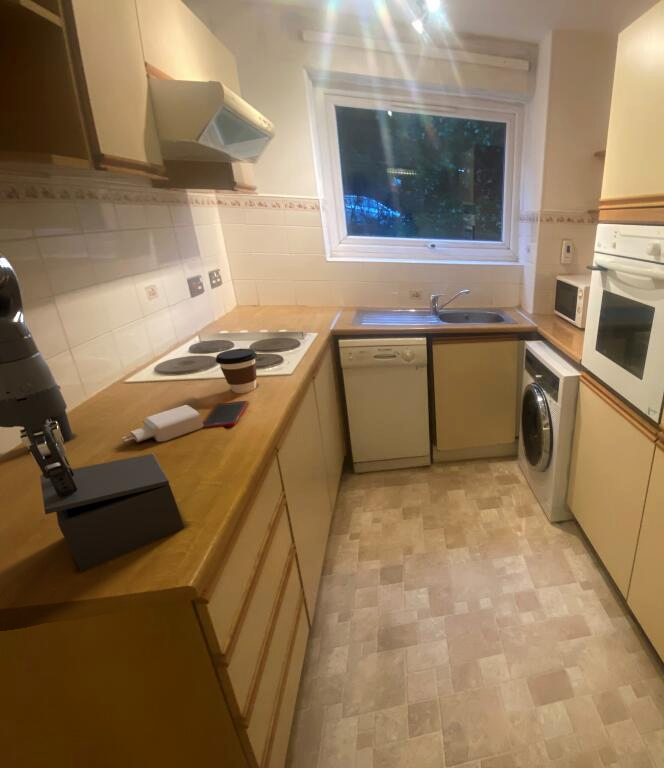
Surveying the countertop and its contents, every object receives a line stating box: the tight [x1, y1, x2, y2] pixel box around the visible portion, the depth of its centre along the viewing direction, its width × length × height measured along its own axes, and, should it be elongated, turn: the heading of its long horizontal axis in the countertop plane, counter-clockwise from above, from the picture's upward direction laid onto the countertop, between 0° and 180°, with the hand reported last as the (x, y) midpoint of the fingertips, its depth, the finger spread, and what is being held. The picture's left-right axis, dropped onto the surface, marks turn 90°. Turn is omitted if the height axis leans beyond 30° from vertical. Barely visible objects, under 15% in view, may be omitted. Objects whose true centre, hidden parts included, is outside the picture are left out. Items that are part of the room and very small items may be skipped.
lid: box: [39, 453, 170, 515], centre depth 71 cm, size 14×13×5 cm
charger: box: [121, 404, 204, 443], centre depth 107 cm, size 5×9×15 cm
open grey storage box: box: [55, 484, 185, 572], centre depth 75 cm, size 14×13×10 cm
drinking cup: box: [50, 385, 74, 443], centre depth 101 cm, size 8×8×20 cm
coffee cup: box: [215, 348, 258, 394], centre depth 134 cm, size 11×11×12 cm
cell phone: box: [202, 400, 248, 429], centre depth 118 cm, size 8×15×1 cm, turn 18°
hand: (66, 485), depth 68 cm, fingers closed on lid, 5 cm apart
